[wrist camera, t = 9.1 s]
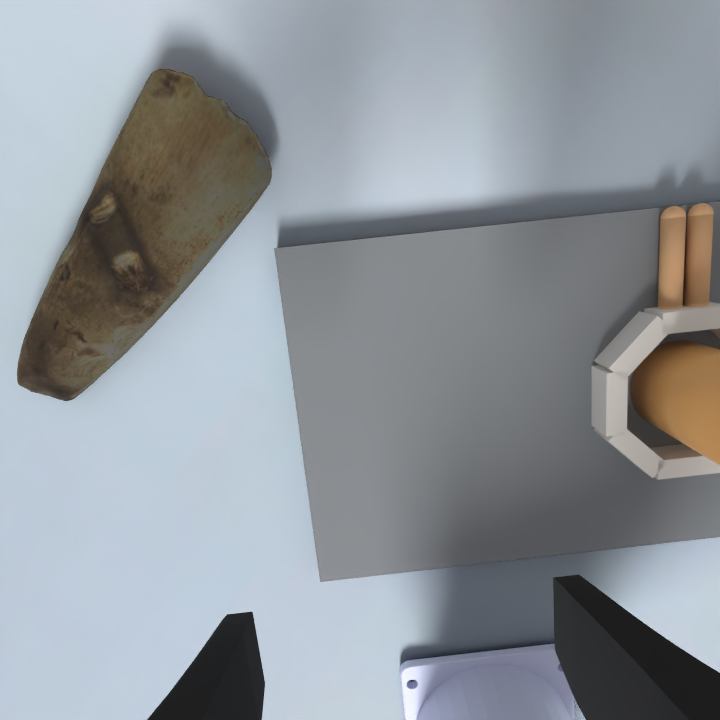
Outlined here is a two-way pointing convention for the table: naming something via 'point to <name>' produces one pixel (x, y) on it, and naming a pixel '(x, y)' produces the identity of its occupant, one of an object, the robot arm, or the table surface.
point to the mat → (497, 388)
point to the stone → (143, 232)
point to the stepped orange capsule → (681, 394)
